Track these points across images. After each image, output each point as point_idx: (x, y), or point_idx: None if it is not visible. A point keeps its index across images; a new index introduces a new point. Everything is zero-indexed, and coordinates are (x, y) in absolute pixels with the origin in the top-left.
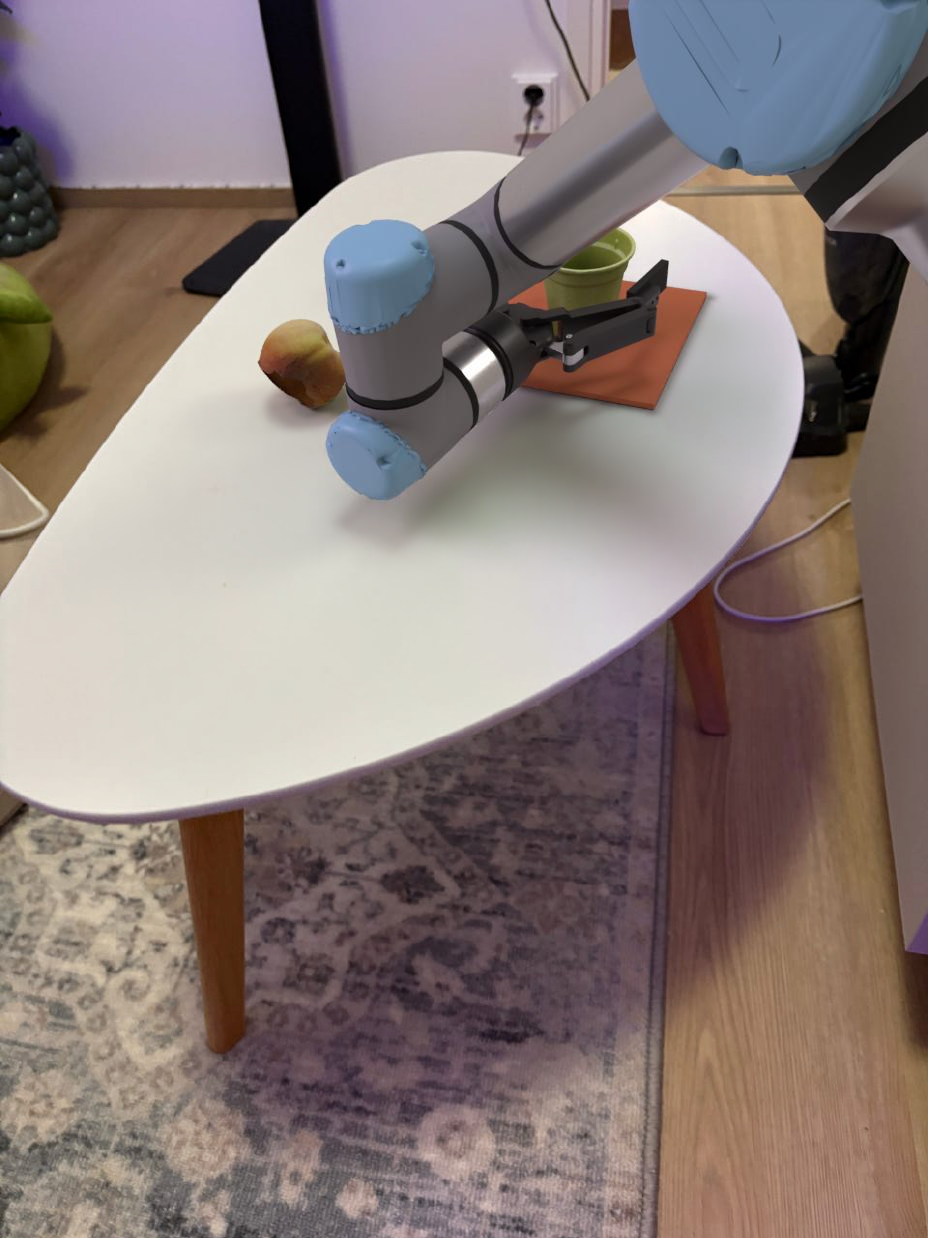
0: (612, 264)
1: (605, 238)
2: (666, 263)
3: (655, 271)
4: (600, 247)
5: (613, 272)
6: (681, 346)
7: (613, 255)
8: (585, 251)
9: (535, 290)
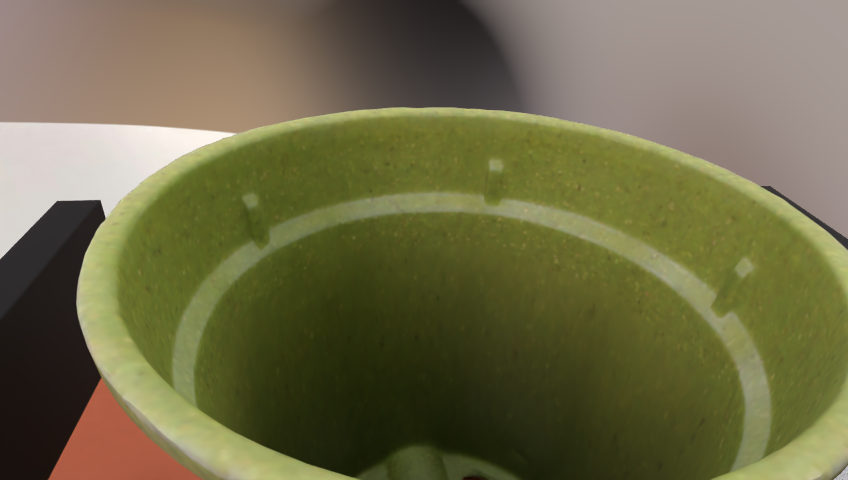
0: (486, 268)
1: (428, 171)
2: (784, 198)
3: (845, 241)
4: (416, 214)
5: (796, 323)
6: None
7: (489, 231)
8: (349, 250)
9: (106, 451)
